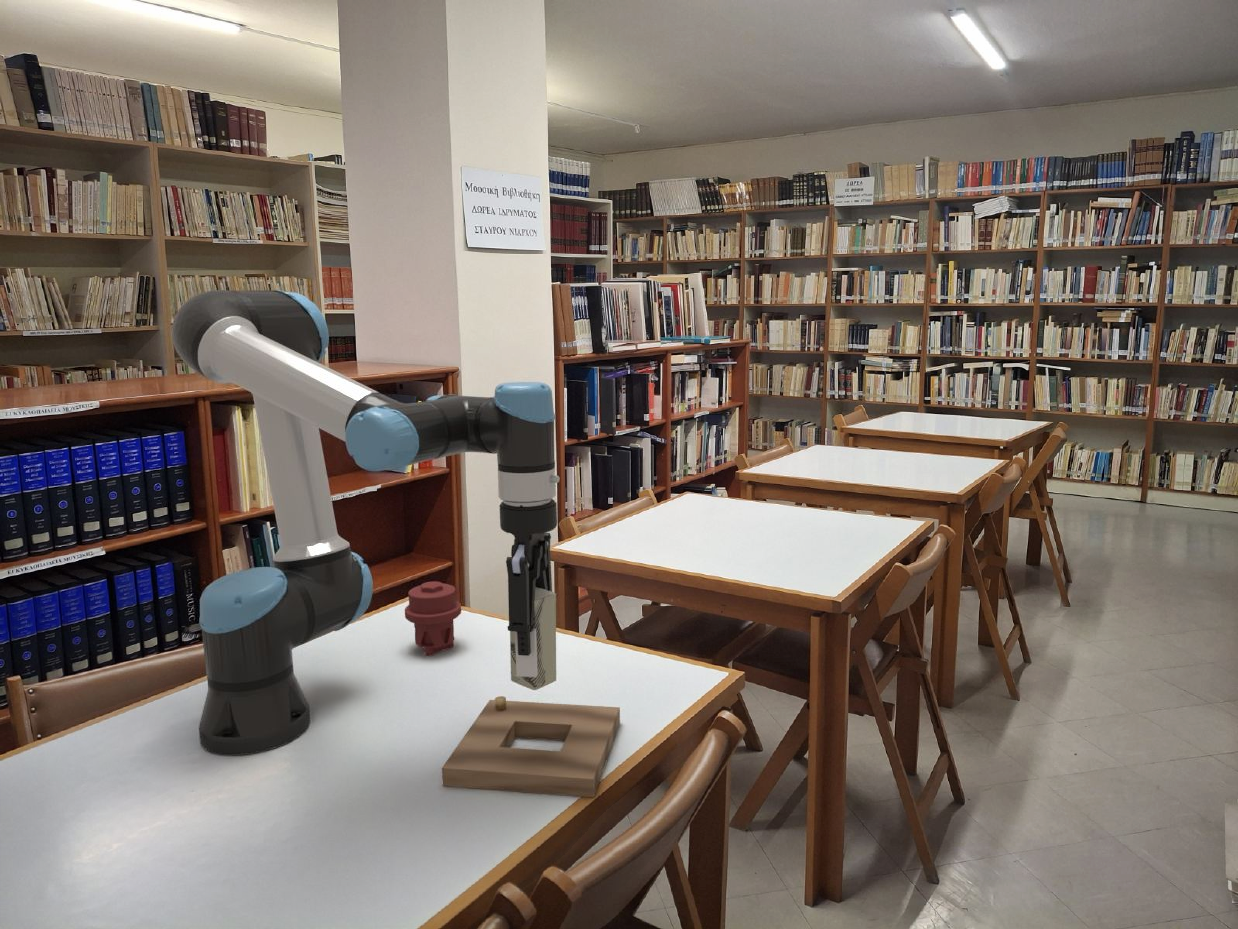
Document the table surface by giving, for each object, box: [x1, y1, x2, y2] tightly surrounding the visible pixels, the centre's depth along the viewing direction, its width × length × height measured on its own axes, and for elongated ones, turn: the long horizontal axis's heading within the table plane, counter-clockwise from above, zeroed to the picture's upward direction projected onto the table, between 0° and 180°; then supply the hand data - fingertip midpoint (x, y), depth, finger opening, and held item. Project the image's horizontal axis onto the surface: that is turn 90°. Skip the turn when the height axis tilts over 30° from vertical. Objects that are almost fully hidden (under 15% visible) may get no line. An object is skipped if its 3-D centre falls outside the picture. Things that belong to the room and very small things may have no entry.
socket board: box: [441, 695, 621, 798], centre depth 119 cm, size 20×20×4 cm
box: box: [509, 587, 557, 691], centre depth 116 cm, size 5×4×13 cm
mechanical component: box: [404, 580, 462, 657], centre depth 156 cm, size 12×10×10 cm
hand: (533, 665), depth 117 cm, fingers closed on box, 6 cm apart
